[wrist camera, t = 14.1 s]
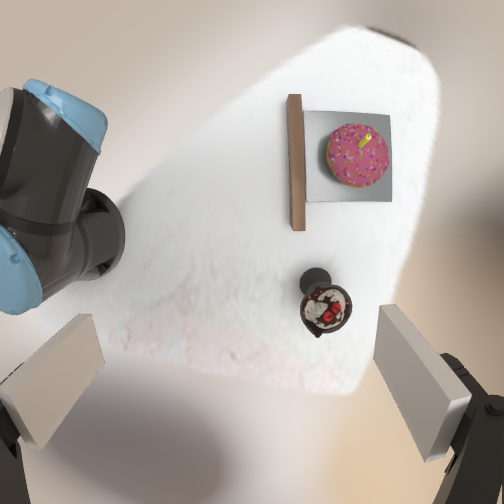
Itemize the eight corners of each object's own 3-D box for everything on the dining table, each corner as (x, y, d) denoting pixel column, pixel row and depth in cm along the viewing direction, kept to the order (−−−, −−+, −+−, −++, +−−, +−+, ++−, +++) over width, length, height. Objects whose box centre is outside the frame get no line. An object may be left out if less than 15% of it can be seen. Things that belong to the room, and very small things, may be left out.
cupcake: (310, 140, 42) (326, 129, 31) (362, 118, 41) (392, 103, 29) (336, 195, 44) (359, 203, 32) (386, 172, 43) (422, 174, 31)
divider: (290, 224, 46) (293, 231, 42) (286, 102, 42) (288, 94, 37) (301, 224, 46) (305, 230, 41) (297, 102, 42) (301, 94, 37)
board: (305, 200, 45) (306, 201, 44) (303, 112, 42) (303, 110, 41) (389, 200, 45) (392, 201, 44) (387, 116, 42) (389, 115, 41)
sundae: (329, 255, 47) (354, 291, 33) (341, 294, 49) (367, 341, 34) (288, 270, 48) (296, 312, 34) (301, 308, 50) (313, 360, 35)
